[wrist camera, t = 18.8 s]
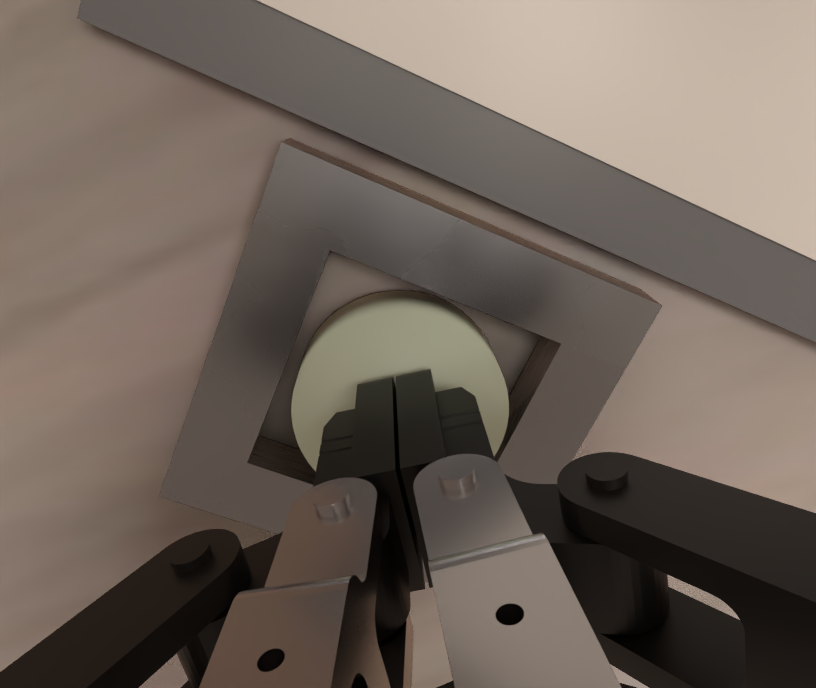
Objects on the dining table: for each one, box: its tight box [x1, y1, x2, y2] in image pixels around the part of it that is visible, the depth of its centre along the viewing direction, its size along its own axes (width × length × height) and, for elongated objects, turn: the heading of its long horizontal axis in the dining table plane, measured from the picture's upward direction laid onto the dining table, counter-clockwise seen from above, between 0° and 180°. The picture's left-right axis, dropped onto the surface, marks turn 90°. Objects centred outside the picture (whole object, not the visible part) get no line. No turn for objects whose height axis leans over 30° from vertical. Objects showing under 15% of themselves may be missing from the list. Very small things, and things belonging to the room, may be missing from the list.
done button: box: [291, 290, 509, 471], centre depth 14 cm, size 4×4×1 cm
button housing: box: [159, 138, 662, 582], centre depth 14 cm, size 8×8×1 cm
